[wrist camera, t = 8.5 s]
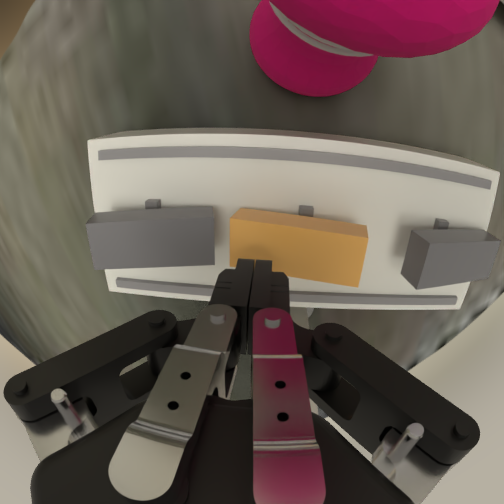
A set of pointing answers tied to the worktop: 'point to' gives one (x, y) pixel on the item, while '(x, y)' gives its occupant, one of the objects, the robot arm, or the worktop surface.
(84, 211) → the worktop surface
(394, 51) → the pepper mill
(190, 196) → the breaker panel
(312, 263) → the block
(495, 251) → the paddle
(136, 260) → the paddle
